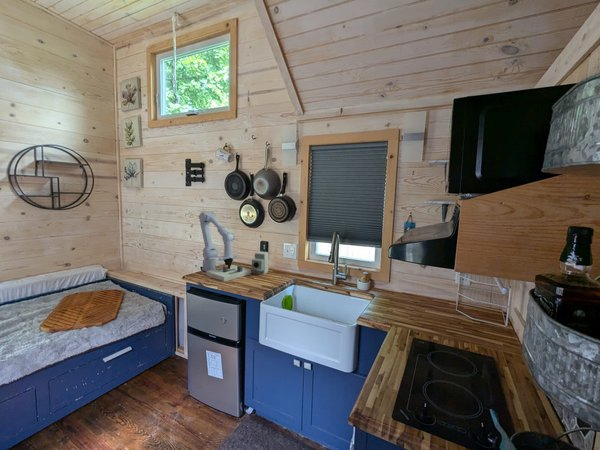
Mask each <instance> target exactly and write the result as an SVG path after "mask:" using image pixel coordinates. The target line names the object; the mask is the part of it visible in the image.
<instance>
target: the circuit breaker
mask: <svg viewBox="0 0 600 450" xmlns="http://www.w3.org/2000/svg"><path fill="white" fill-rule="evenodd" d="M269 255H270V254H269V251H260V250H259V251H257V252H255V253H254V258H252V259H251V271H254V274H258V275H266V274H267V273H269V258H270V257H269Z"/></svg>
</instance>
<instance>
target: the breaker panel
mask: <svg viewBox="0 0 600 450" xmlns="http://www.w3.org/2000/svg"><path fill="white" fill-rule="evenodd" d="M224 265H226V264H225V263H224ZM205 272H206V275H205V276H208V277H211V278H213V279H216V280H218V281H222V282H227V281H231V280H233V279H238V278H241V277H244V276H248V275H251V274H252V269H250V268H249V269H248V268H246V267H243V265H236V264H231V266H230V269H228V271H226V272H225V271H223V266H221V267H219V268H215V269H213V270H209V271H205Z"/></svg>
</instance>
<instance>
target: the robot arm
mask: <svg viewBox="0 0 600 450" xmlns="http://www.w3.org/2000/svg"><path fill="white" fill-rule="evenodd" d="M216 216H217V215H216V214H215V212H214V211H201V212H200V214H199V215H198V218H199V223H200V228H201V233H202V237H203V243H204V248H203V249H202V257H203V260H202V268H201V271H204V272H206V271H209V270H213V269H216V259H217V258H218V255H219V252H218V250H217V247H216V246H214V244H213V241H212V236H211V231H210V226H209V225H210V223H212V224H213V225H214V227H216V229H217V233H218V234H219V235H220V236H221V239H222V241H223V246H224V248H223V256H220V257H219V258H218V261H219V262H221V261H223V262H224V265H225V264H226V265H228V269H230V266H231V265H232V263H233V262H234V258H238V254H233V246H234V245H233V241H234V240H235V235H234V233H233V232H230V231H229V230H228V229H227V228H226V226H225V225H222V224H221V223H220V221H219V219H218V218H217V217H216Z"/></svg>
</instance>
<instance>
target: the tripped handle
mask: <svg viewBox="0 0 600 450" xmlns="http://www.w3.org/2000/svg"><path fill="white" fill-rule="evenodd" d="M222 267H223V271H225V272H226V271H228V265H225V264H223V265H222Z"/></svg>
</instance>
